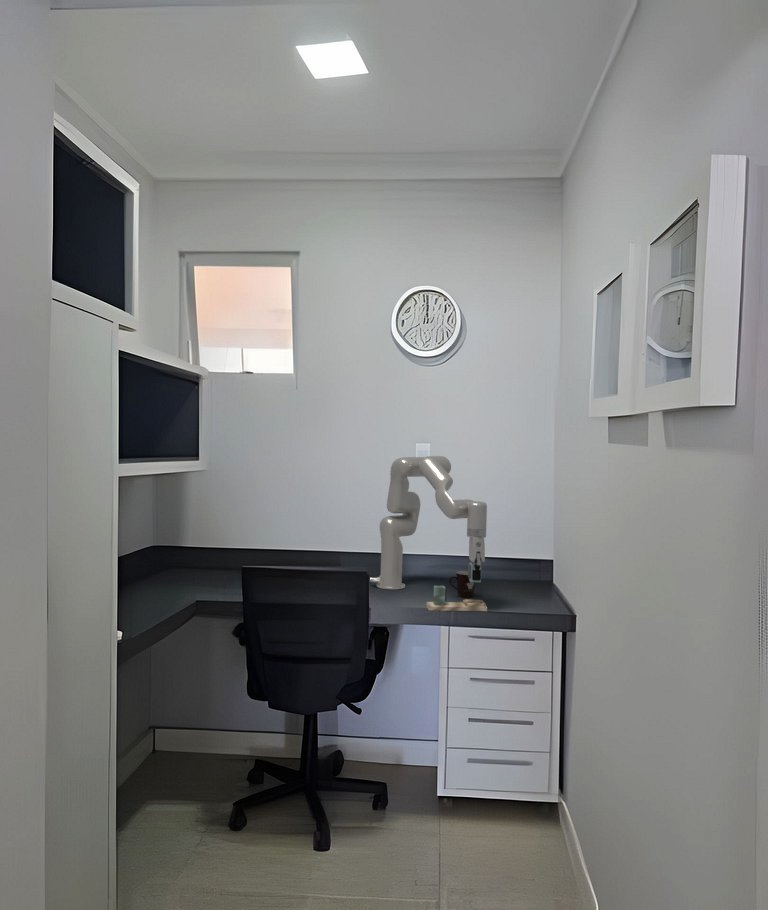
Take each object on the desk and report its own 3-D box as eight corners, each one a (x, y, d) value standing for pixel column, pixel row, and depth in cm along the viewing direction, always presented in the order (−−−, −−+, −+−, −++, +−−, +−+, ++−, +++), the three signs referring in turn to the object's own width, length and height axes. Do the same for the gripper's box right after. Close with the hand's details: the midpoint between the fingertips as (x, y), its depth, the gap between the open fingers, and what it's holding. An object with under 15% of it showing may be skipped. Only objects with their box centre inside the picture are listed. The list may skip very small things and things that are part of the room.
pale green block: (479, 580, 320) (479, 562, 320) (480, 582, 316) (481, 564, 316) (467, 580, 320) (468, 562, 320) (469, 582, 316) (469, 564, 316)
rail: (428, 610, 313) (429, 588, 313) (426, 605, 321) (427, 584, 321) (487, 611, 315) (487, 589, 314) (483, 606, 323) (484, 585, 322)
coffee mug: (474, 594, 346) (475, 571, 345) (476, 598, 337) (477, 575, 337) (447, 593, 346) (448, 570, 345) (449, 598, 337) (449, 574, 337)
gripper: (490, 535, 309) (488, 583, 310) (482, 530, 326) (480, 575, 327) (470, 535, 309) (469, 583, 309) (463, 530, 325) (462, 575, 326)
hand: (475, 578), depth 318 cm, fingers closed on pale green block, 4 cm apart
